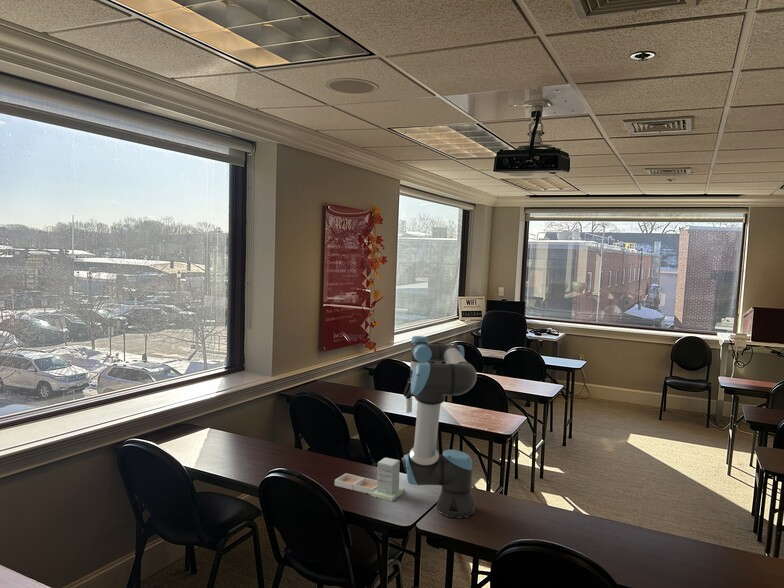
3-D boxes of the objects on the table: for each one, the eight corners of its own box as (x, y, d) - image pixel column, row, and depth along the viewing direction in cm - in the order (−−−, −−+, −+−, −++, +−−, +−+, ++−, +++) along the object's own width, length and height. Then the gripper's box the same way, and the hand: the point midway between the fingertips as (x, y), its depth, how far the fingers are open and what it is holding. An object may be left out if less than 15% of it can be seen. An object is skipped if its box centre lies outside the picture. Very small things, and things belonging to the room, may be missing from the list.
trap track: (404, 491, 239) (404, 485, 239) (392, 501, 228) (392, 495, 228) (347, 477, 252) (347, 472, 252) (332, 486, 241) (333, 481, 241)
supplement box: (384, 485, 241) (385, 456, 240) (399, 488, 238) (400, 460, 237) (376, 491, 234) (377, 462, 234) (391, 495, 231) (392, 465, 230)
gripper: (441, 374, 244) (439, 422, 245) (410, 365, 265) (409, 408, 266) (427, 375, 240) (425, 424, 241) (397, 366, 261) (395, 410, 262)
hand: (416, 416), depth 253 cm, fingers open, 13 cm apart
